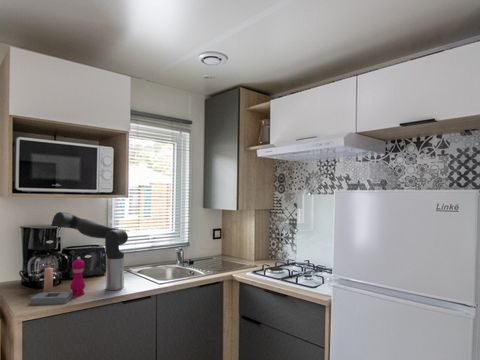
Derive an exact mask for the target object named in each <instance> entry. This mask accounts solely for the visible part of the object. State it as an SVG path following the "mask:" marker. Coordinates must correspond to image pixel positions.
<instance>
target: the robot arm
mask: <svg viewBox="0 0 480 360" xmlns="http://www.w3.org/2000/svg"><path fill="white" fill-rule="evenodd" d="M51 226H58V227H60V229H59V231H60V230H61V228H64V229H71V230H72V229H73V230H75V231H78V232H79V233H80V234H81V235H83V236H86V237H89V238H95V239H104V243H105V245H104V247H105V249H104V250H105V255H106V272H105V274H106V275H105V290H108V291H119V290H123V288H124V287H125V285H124V284H125V269H124V268H125V267H124V263H125V253H124V252H123V251H120V247H119V246H122V245H124V244H126V243H127V242H128V240H129V239H128V238H129V236H128V233H127V232H126V231H125V230H123V229H121V228H117V227H116V228H115V227H110V226H107V225H105V224H102V223H99V222H96V221H93V220H90V219H87V218H81V217H78V216H77V215H74V214H72V213H69V212H60V211H58V212H57V213H55V215H54V216H53V217H52V222H51ZM51 226H50V227H51ZM45 268H50V267H48V266H45V267H42V268H41V269H40V270H39V272H38V274H36V273H33V274H32V275H31V280H32V281H31V282H35V281H36V282H37V283H40V282H41V281H43V282H44V270H45ZM62 276H63V273H62V272H61V271H58V272H54V271H53V280H54V279H55V280H56V281H58V280H59V279H62V278H63V277H62Z"/></svg>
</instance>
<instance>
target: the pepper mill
mask: <svg viewBox="0 0 480 360" xmlns="http://www.w3.org/2000/svg"><path fill="white" fill-rule="evenodd" d="M85 266H86V265H85V261H84V260H83V259H81V256H77V258H76V259H75V260H73V262H72V268H73V269H72V272H73V278H72V281H71V283H70V285H69V287H70V290H71V291H70V292H73V297H80V296H83V295H84V294H85V287H86V282H85V280H84V278H83V272H84V267H85Z"/></svg>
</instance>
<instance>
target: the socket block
mask: <svg viewBox="0 0 480 360" xmlns="http://www.w3.org/2000/svg"><path fill="white" fill-rule="evenodd" d="M73 297H74V296H73V292H71V291H52V292H44V291H43V292H39V293H37V294H35V295H34V296H32V297H31V298H30V305H31V306H37V305H61V304H63V305H65V304H67V303H68V302H69V301H70V300H71V299H72V298H73Z"/></svg>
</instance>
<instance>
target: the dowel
mask: <svg viewBox="0 0 480 360" xmlns="http://www.w3.org/2000/svg"><path fill="white" fill-rule="evenodd" d="M53 272H54V267H53V268H51V267H50V268H45V270H44V281H43V292H53V284H54V283H53V282H54V279H53Z"/></svg>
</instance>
